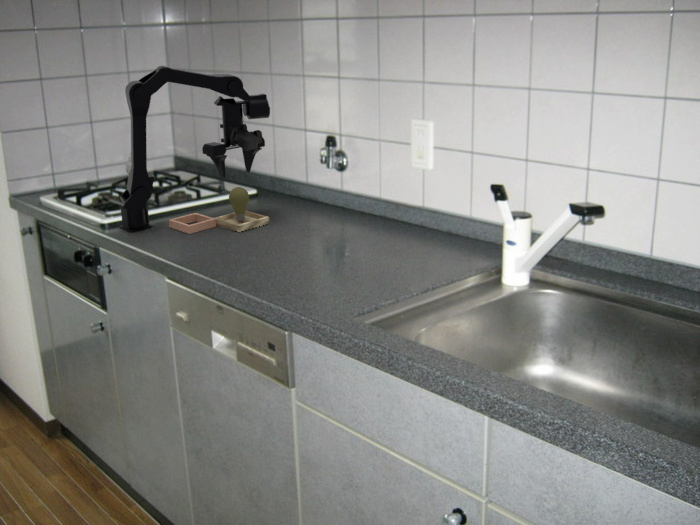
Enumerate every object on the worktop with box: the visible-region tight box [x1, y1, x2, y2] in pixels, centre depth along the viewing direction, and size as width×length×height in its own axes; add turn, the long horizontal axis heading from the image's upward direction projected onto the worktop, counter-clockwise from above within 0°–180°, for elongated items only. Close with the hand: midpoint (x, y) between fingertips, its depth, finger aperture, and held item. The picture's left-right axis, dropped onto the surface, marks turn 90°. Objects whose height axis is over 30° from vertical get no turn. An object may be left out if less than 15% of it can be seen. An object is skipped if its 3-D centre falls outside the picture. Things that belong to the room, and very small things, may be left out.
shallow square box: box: [168, 212, 217, 235], centre depth 215 cm, size 9×9×2 cm
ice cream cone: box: [125, 152, 131, 177], centre depth 245 cm, size 5×5×15 cm
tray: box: [214, 210, 270, 233], centre depth 217 cm, size 11×11×2 cm
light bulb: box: [228, 186, 250, 222], centre depth 215 cm, size 6×6×10 cm
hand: (236, 174), depth 222 cm, fingers open, 9 cm apart
